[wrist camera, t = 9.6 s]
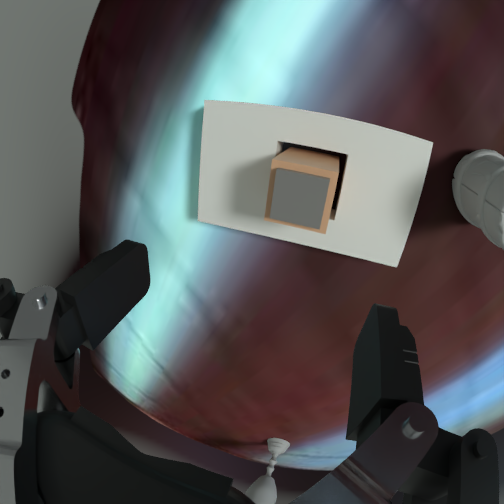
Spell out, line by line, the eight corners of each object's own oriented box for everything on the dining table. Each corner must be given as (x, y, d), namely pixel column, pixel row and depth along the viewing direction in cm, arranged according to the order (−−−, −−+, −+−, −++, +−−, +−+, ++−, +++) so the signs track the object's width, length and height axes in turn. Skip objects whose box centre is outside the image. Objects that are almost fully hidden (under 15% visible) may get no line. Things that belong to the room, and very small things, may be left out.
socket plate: (217, 100, 26) (204, 100, 23) (423, 139, 22) (433, 142, 19) (209, 211, 31) (197, 220, 29) (392, 253, 27) (396, 267, 25)
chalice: (301, 447, 50) (280, 519, 35) (278, 451, 54) (255, 517, 39) (279, 433, 49) (253, 510, 34) (256, 437, 53) (229, 507, 38)
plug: (291, 146, 26) (270, 160, 19) (339, 156, 25) (338, 174, 18) (284, 192, 28) (261, 223, 21) (330, 202, 27) (324, 237, 20)
